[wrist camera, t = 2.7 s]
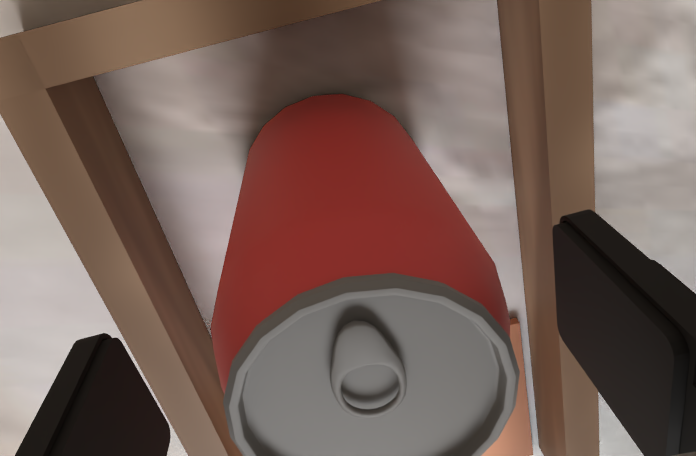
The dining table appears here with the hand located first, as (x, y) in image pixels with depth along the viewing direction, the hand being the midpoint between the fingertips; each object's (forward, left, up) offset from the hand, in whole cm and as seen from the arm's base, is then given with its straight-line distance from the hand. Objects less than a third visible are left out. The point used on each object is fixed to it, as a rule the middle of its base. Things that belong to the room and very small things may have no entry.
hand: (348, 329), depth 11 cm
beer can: (0, +1, -10) cm, 10 cm away
